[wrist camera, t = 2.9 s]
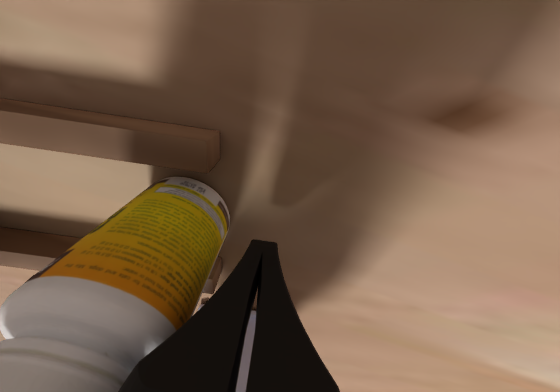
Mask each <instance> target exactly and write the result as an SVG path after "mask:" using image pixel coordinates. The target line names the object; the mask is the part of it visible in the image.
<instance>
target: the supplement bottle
mask: <svg viewBox="0 0 560 392" xmlns="http://www.w3.org/2000/svg"><path fill="white" fill-rule="evenodd" d="M229 226H230V216H229V211H228V208H227V206H226V204H225V202H224V201H223V199H222V198H221V197H220V195H219V194H218V193H217V192H216V191H214V190H213V189H212V188H211V187H209V186H208V185H206V184H204V183H202V182H200V181H198V180H195V179H191V178H187V177H169V178H165V179H162V180H159V181H157V182H156V183H154V184H153V185H151V186H150V187H148V188H147V189H146V190H144V191H143V192H142V193H140V194H139V195H138V196H137V197H135V198H134V199H133V200H131V201H130V202H129V203H128V204H126V205H125V206H124V207H122V208H121V209H120V210H118V211H117V212H116V213H115V214H113V215H112V216H111V217H109V218H108V219H107V220H106V221H104V222H103V223H102V224H100V225H99V226H98V227H97V228H95V229H94V230H93V231H91V232H90V233H89V234H87V235H86V236H85V237H84V238H82V239H81V240H80V241H79V242H77V243H76V244H75V245H73V246H72V247H71V248H69V249H68V250H67V251H66V252H64V253H63V254H61V255H60V256H59V257H57V258H56V259H55V260H54V261H53V262H51V263H50V264H49V265H47V266H46V267H45V268H43V269H42V270H41V271H39V272H38V273H37V274H35V275H33V276H32V277H31V278H30V279H29V280H27V281H26V282H25V283H24V284H23V285H22V286H21V287H19V288H18V289H17V290H15V291H14V292H13V293H12V294H11V295H10V296H8V298H7V299H6V300H5V302H4V303H3V304H2V306H1V308H0V330H1V333H2V334H3V336H4V337H5V338H6V340H3V341H1V342H0V392H118V391H119V389H120V388H121V386H122V385H123V383H124V382H125V380H126V379H127V377H128V376H129V374H130V373H131V371H132V370H133V369H134V367H135V366H136V365H137V363H138V362H139V361H140V360H141V359H142V358H144V357H145V356H146V355H147V354H149V353H150V352H151V351H152V350H154V349H155V348H156V347H157V346H159V345H160V344H161V343H162V342H164V341H165V340H166V339H167V338H169V337H170V336H171V335H172V334H173V333H174V332H175V331H177V330H178V329H179V328H180V327H181V326H182V325H183V324H184V323H186V322H187V321H188V320H189V319H190V318H191V317H192V315H193V313H194V311H195V308H196V306H197V304H198V301H199V299H200V297H201V294H202V292H203V290H204V287H205V285H206V283H207V280H208V278H209V276H210V273H211V271H212V269H213V266H214V264H215V261H216V259H217V257H218V254H219V252H220V249H221V247H222V245H223V242H224V240H225V238H226V235H227V233H228V230H229Z"/></svg>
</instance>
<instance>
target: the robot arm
mask: <svg viewBox="0 0 560 392" xmlns="http://www.w3.org/2000/svg"><path fill="white" fill-rule="evenodd" d="M257 288H258V295H257V309H256V311H252V307H253V303H254V299H255V296H256V292H257ZM118 392H340V391H339V388H338V386H337V384H336V382H335V381H334V379H333V378H332V376H331V375H330V373H329V371H328V370H327V368H326V367H325V365H324V363H323V362H322V360H321V358H320V357H319V355H318V353H317V351H316V350H315V348H314V346H313V344H312V342H311V340H310V338H309V337H308V335H307V333H306V331H305V329H304V327H303V325H302V323H301V321H300V319H299V316H298V314H297V312H296V310H295V307H294V305H293V303H292V300H291V297H290V295H289V292H288V289H287V286H286V283H285V280H284V277H283V273H282V270H281V266H280V261H279V256H278V248H277V243H275V242H268V241H261V240H254V239H253V240H252V241H251V243H250V245H249V247H248V249H247V251H246V252H245V254H244V256H243V257H242V259H241V260H240V262H239V263H238V265H237V266H236V267H235V269H234V270H233V272H232V273H231V274H230V275H229V277H228V278H227V279H226V281H225V282H224V283H223V284H222V286H221V287H220V288H219V289H218V290H217V291H216V292H215V294H214V295H213V296H212V297H211V298H210V299H209V300H208V301H207V302H206V303H205V304H201V305H200V306H199V308H198V311H197V312H196V313H195V314H194V315H193V316H192V317H191V318H190V319H189V320H188V321H187V322H186V323H184V324H183V325H182V326H181V327H180V328H179V329H178V330H177V331H175V332H174V333H173V334H172V335H171V336H170V337H169V338H167V339H166V340H165V341H164V342H162V343H161V344H160V345H159V346H157V347H156V348H155V349H154V350H152V351H151V352H150V353H149V354H147V355H146V356H145V357H144V358H142V359H141V360H140V361H139V362H138V363H137V365H136V366H135V367H134V369H133V370H132V371H131V373H130V374H129V376H128V377H127V379H126V380H125V382H124V383H123V385H122V386H121V388H120V389H119V391H118Z"/></svg>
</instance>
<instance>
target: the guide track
mask: <svg viewBox="0 0 560 392" xmlns="http://www.w3.org/2000/svg"><path fill="white" fill-rule="evenodd" d="M0 143H3V144H10V145H17V146H24V147H30V148H37V149H44V150H51V151H58V152H65V153H71V154H78V155H85V156H92V157H99V158H106V159H113V160H119V161H126V162H133V163H140V164H147V165H154V166H161V167H167V168H174V169H181V170H188V171H195V172H202V173H209V171H210V170H211V169H212V168H213V167H214V166H215V165H216V163H217V162H218V161H219V160H220V131H216V130H209V129H202V128H196V127H189V126H182V125H176V124H169V123H162V122H156V121H149V120H142V119H136V118H129V117H122V116H116V115H109V114H102V113H96V112H89V111H82V110H76V109H69V108H63V107H56V106H49V105H43V104H36V103H29V102H23V101H16V100H9V99H3V98H0ZM81 239H82V238H76V237H69V236H62V235H54V234H47V233H40V232H33V231H25V230H18V229H11V228H4V227H0V265H1V266H8V267H16V268H23V269H31V270H38V271H41V270H42V269H43V268H45V267H46V266H47V265H49V264H50V263H51V262H53V261H54V260H55V259H56V258H57V257H59V256H60V255H61V254H63V253H64V252H66V251H67V250H68V249H69V248H71V247H72V246H73V245H75V244H76V243H77V242H79V241H80V240H81ZM220 274H221V257H217V259H216V261H215V264H214V266H213V269H212V271H211V273H210V276H209V278H208V280H207V283H206V285H205V287H204V290H203V292H202V293H209V294H213V293H214V291H215V288H216V285H217V282H218V280H219V277H220Z"/></svg>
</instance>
